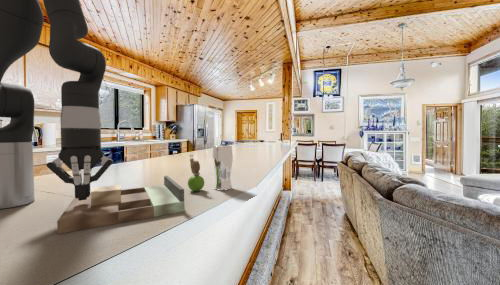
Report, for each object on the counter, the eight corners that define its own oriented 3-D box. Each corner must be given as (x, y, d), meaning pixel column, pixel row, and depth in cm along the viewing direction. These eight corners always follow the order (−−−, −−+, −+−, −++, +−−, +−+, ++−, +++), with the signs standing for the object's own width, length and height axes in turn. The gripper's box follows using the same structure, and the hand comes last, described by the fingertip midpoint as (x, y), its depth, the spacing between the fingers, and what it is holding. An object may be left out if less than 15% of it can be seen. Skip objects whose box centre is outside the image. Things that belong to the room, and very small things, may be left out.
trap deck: (57, 234, 42) (56, 205, 42) (76, 204, 61) (75, 184, 61) (184, 211, 54) (184, 189, 54) (167, 192, 73) (167, 175, 73)
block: (91, 205, 51) (90, 192, 51) (93, 199, 56) (92, 187, 56) (121, 201, 54) (120, 189, 54) (120, 195, 60) (120, 184, 59)
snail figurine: (198, 187, 79) (198, 154, 79) (207, 191, 74) (206, 155, 74) (184, 190, 75) (183, 155, 75) (192, 193, 71) (191, 156, 70)
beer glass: (214, 191, 73) (213, 146, 73) (212, 186, 80) (211, 145, 80) (234, 190, 75) (234, 146, 75) (230, 185, 82) (230, 145, 81)
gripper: (38, 125, 46) (41, 208, 46) (113, 127, 52) (114, 199, 53) (49, 127, 52) (51, 199, 53) (114, 128, 59) (115, 192, 59)
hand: (83, 199), depth 53 cm, fingers closed
